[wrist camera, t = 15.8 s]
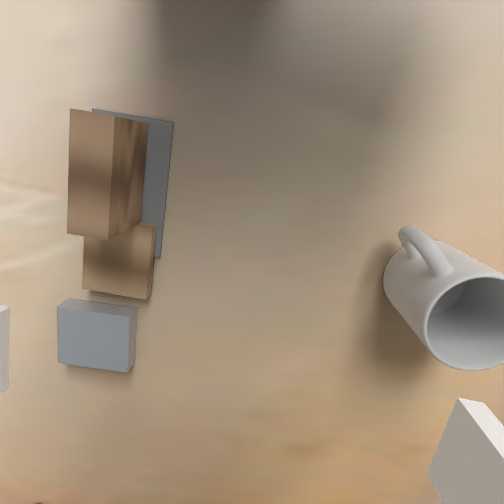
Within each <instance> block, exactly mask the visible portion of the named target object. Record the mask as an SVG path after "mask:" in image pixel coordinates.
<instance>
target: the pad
mask: <svg viewBox="0 0 504 504" xmlns="http://www.w3.org/2000/svg"><path fill="white" fill-rule="evenodd" d="M92 112H94V113H100V114H106V115H112V116H117V117H121V118H126V119H131V120H135V121H140V122H145V123H149V126H148V138H147V151H146V163H145V176H144V188H143V201H142V213H141V222H142V223H148V224H153V225H157V231H156V242H155V253H154V257H160V256H161V246H162V236H163V226H164V216H165V206H166V196H167V185H168V175H169V165H170V155H171V145H172V135H173V125H174V122H168V121H162V120H156V119H151V118H145V117H139V116H133V115H127V114H121V113H115V112H110V111H104V110H98V109H92Z"/></svg>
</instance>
